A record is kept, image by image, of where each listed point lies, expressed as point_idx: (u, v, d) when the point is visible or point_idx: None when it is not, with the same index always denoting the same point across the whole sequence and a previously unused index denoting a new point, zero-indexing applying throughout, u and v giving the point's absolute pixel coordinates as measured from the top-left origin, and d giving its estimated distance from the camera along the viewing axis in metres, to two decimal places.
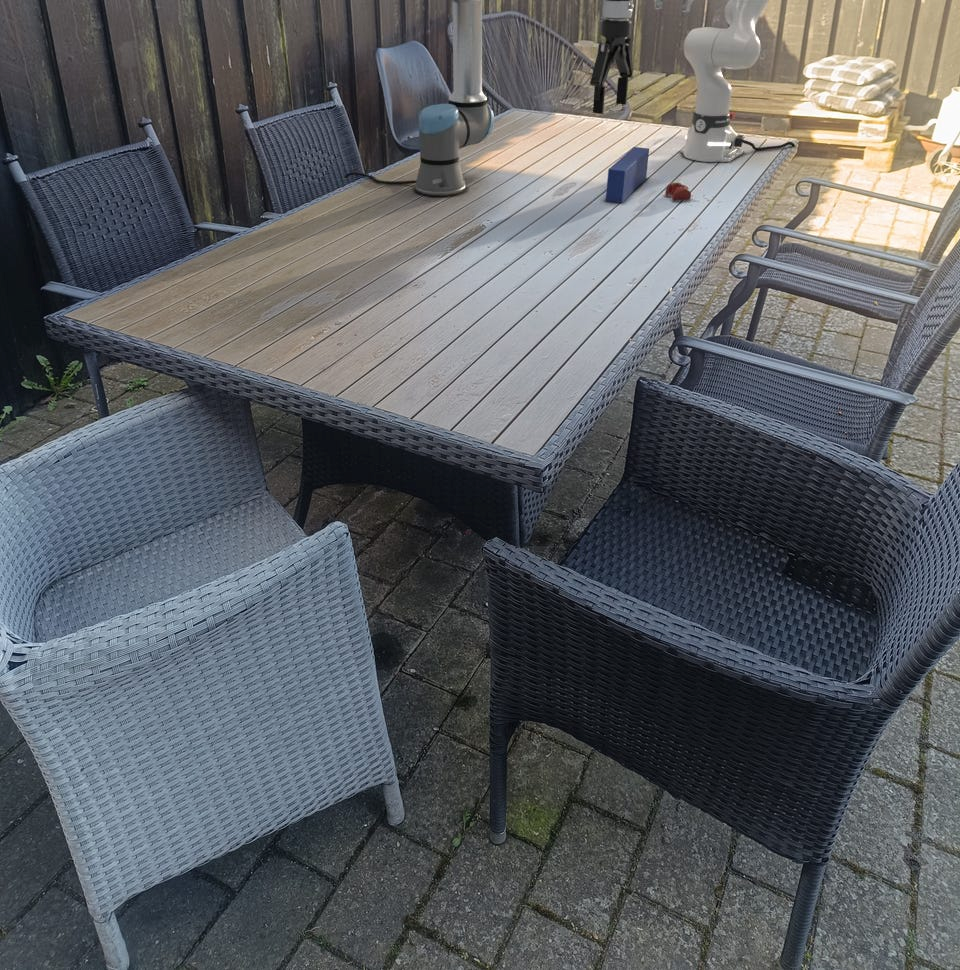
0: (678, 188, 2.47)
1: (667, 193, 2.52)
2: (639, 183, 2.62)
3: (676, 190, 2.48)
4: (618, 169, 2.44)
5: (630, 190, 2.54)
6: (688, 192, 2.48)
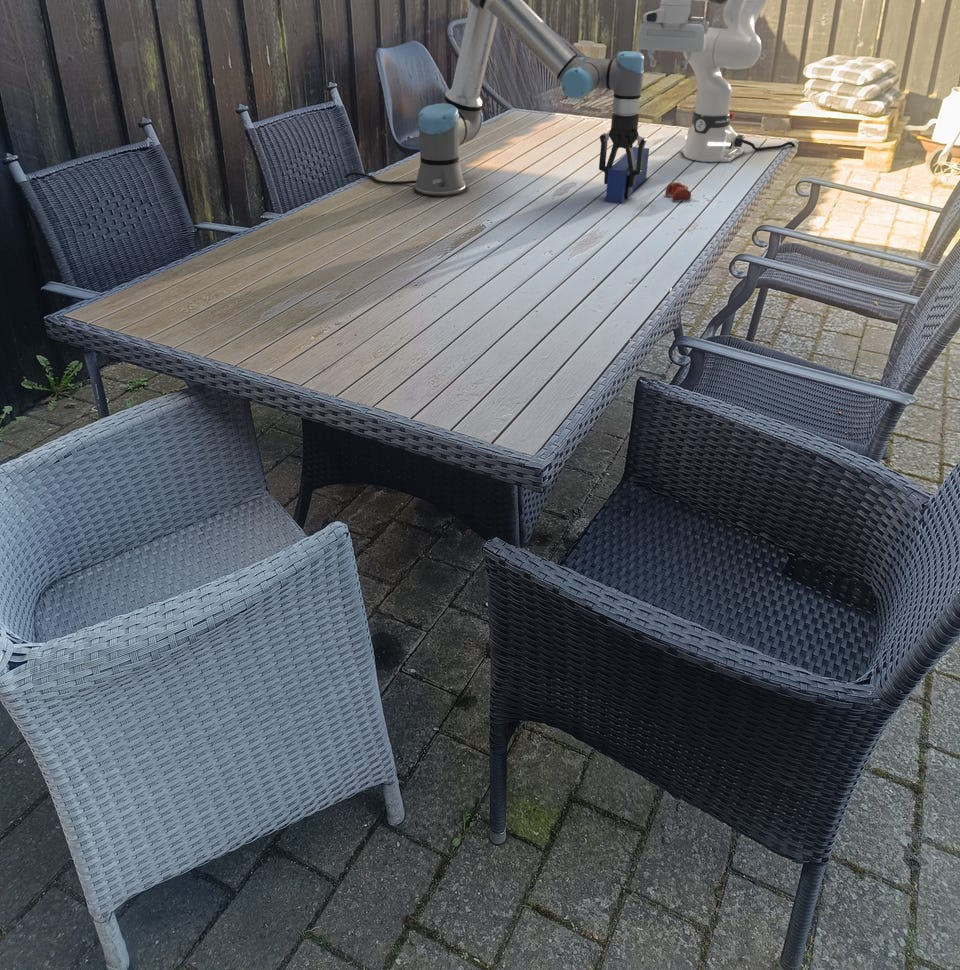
0: (678, 188, 2.47)
1: (667, 193, 2.52)
2: (639, 183, 2.62)
3: (676, 190, 2.48)
4: (618, 169, 2.44)
5: (630, 190, 2.54)
6: (688, 192, 2.48)
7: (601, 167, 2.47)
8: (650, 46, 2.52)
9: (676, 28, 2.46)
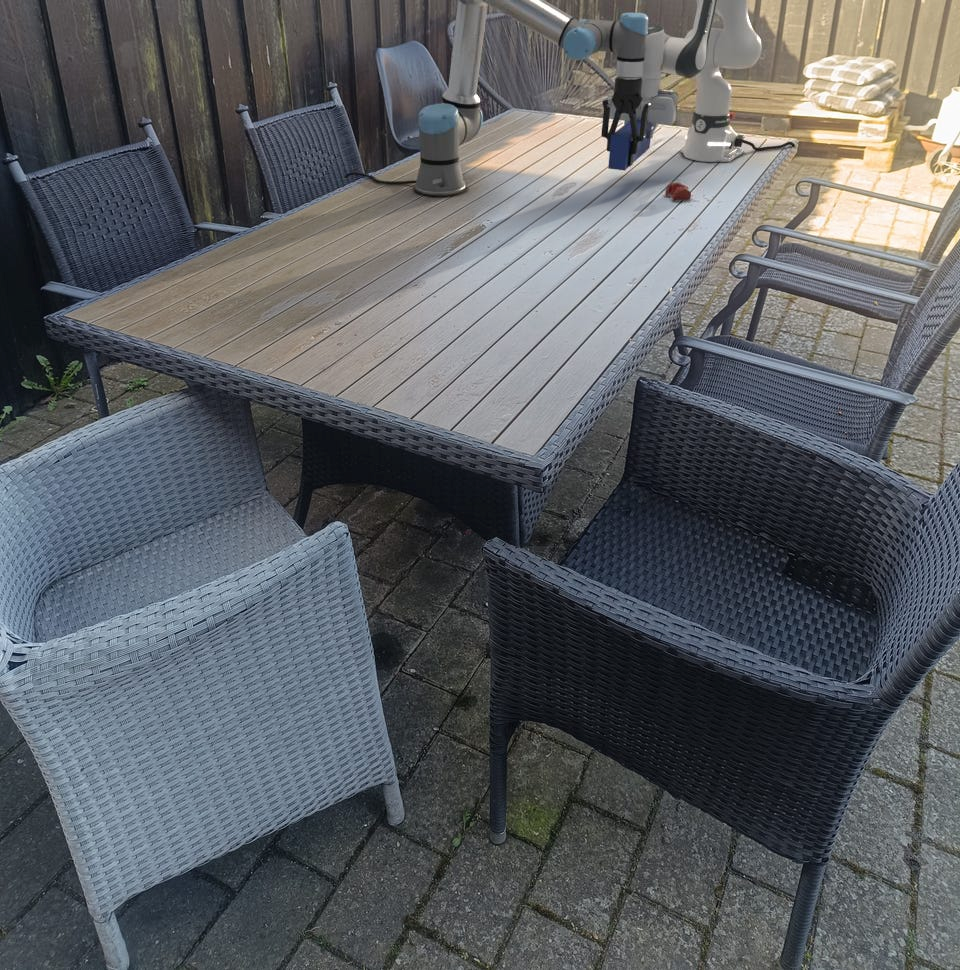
0: (678, 188, 2.47)
1: (667, 193, 2.52)
2: (642, 152, 2.56)
3: (676, 190, 2.48)
4: (621, 135, 2.38)
5: (633, 158, 2.48)
6: (688, 192, 2.48)
7: (604, 134, 2.42)
8: (621, 116, 2.56)
9: (646, 101, 2.50)
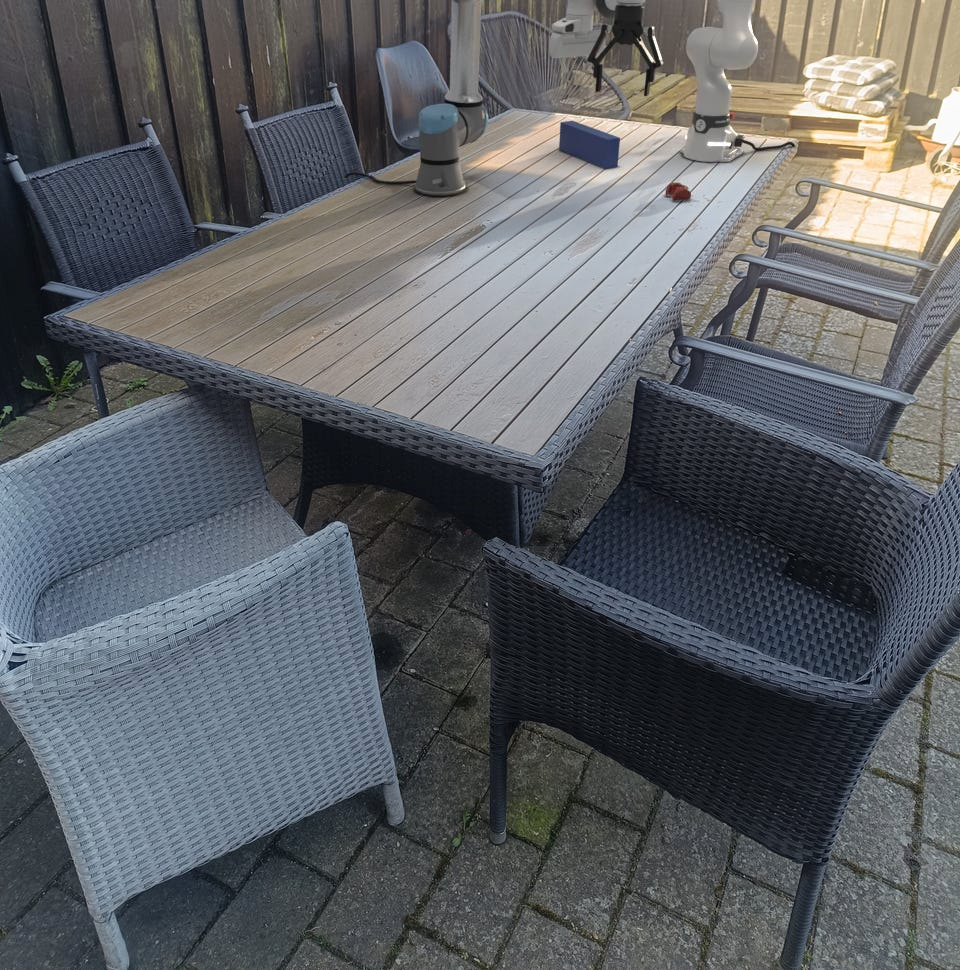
0: (678, 188, 2.47)
1: (667, 193, 2.52)
2: None
3: (676, 190, 2.48)
4: (612, 138, 2.74)
5: None
6: (688, 192, 2.48)
7: (590, 59, 2.27)
8: (566, 54, 2.73)
9: (587, 35, 2.72)
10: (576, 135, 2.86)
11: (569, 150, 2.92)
